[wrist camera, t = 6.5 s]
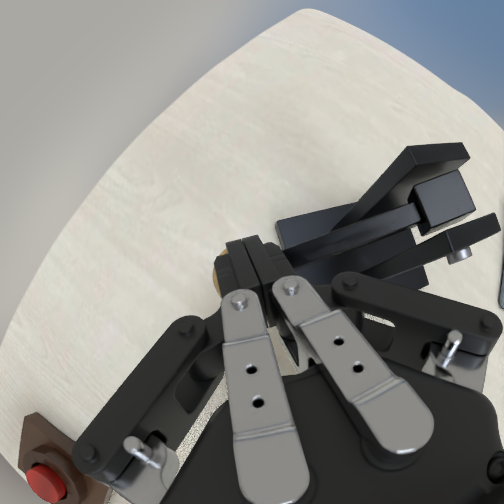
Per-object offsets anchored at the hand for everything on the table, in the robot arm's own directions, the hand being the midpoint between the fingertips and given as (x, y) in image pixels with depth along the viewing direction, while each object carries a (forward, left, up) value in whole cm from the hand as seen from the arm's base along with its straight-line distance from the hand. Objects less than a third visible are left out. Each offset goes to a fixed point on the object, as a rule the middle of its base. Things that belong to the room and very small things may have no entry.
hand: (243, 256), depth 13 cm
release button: (-8, -25, -6) cm, 27 cm away
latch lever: (+5, +3, -2) cm, 6 cm away
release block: (-8, -25, -10) cm, 28 cm away
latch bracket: (+8, +6, -10) cm, 14 cm away
